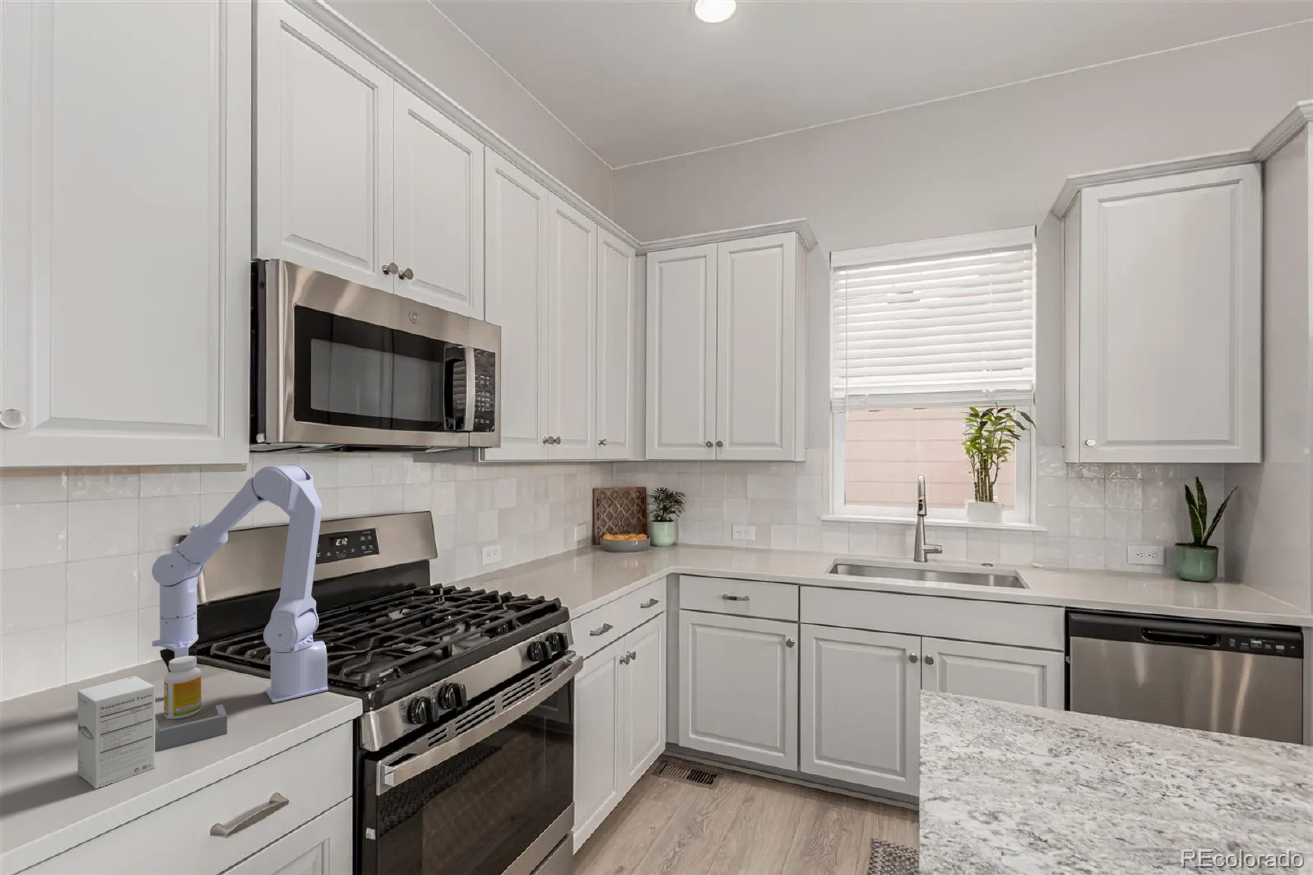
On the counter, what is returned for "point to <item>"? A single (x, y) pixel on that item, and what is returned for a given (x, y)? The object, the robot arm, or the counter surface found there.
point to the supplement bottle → (182, 688)
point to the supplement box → (116, 730)
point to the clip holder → (191, 730)
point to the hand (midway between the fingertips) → (178, 685)
